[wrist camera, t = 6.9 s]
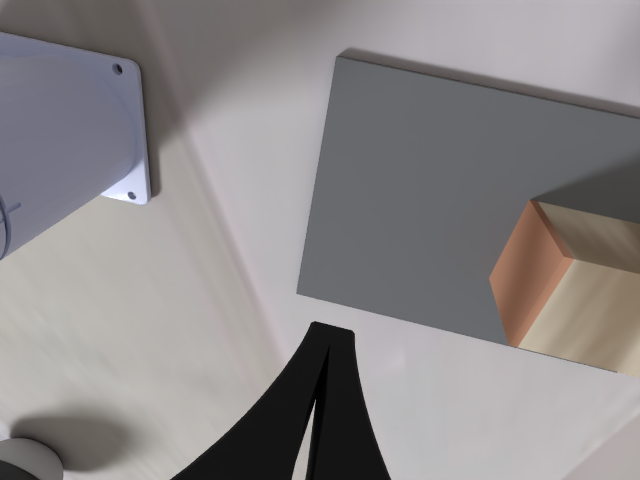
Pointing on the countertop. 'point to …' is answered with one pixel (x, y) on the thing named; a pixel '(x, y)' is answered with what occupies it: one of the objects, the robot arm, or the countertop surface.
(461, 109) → the mat
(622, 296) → the block
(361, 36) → the countertop surface
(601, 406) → the countertop surface
